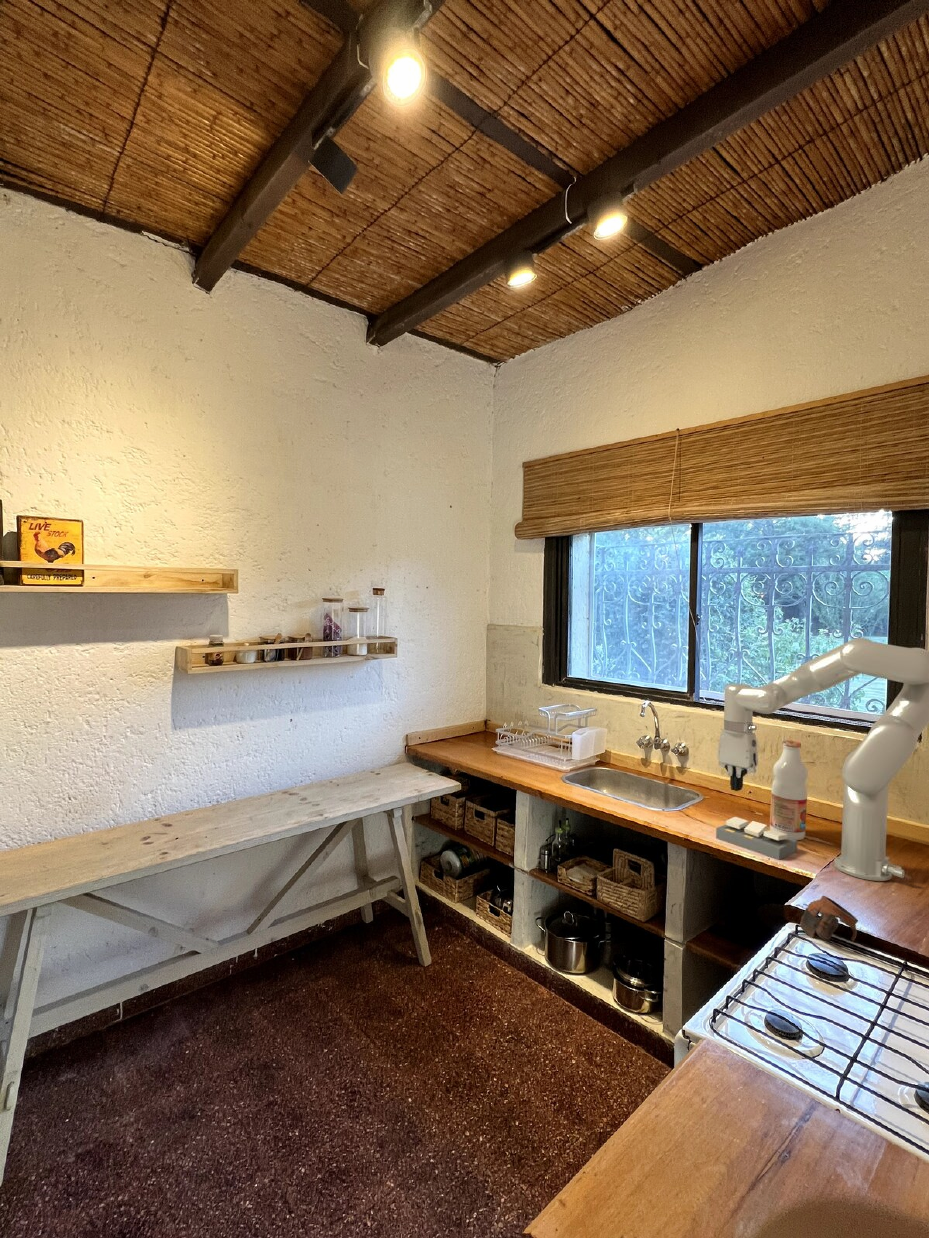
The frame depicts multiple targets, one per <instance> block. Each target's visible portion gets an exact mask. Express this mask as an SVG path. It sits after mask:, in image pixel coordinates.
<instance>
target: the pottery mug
mask: <svg viewBox="0 0 929 1238" xmlns="http://www.w3.org/2000/svg"><path fill="white" fill-rule="evenodd" d="M819 915H820V917H819ZM838 918H839V919H838ZM839 922H841V923H843V924H845V925H846V926H848V927H849V928H850V929H851V932H852V933H853V934H852V937H851V941H852V942H855V939H856V938H857V927H856V926H857V925H856V924H857V923H859V920H858V918H856V916H854V915H853V914H852V913H851V912H849V911H848V910H847V909H846V908H844V907H843V906H842V905H840V904H839V903H837V902H836V901H834V900H833V899H831V898H829V897H827V896H826V895H822V896H821V898H820V899H817V900H813V901H811V902H810V903H809V904H808V906H807V907H806V908H805V909H804V911H803V914H802V916H801V920H800V923H799V926H800V928H801V930H803V932H804V933H805V934H807V935H808V936H809V937H810V938H811V939H814V937H815V934H816V935H817V936H818V937H819V938H820V939H822V940H826V941H830V940H831V938H832V936H833V934H834V932H836V930H837V929H838V928H839Z"/></svg>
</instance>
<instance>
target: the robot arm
mask: <svg viewBox="0 0 929 1238" xmlns="http://www.w3.org/2000/svg"><path fill="white" fill-rule="evenodd" d="M860 674H862V675H865V676H870V677H873V678H874V677H875V678H878V679H883V680H884V679H885V680H889V681H894V682H899V683H903V686H902V688H901V690H900V691H899V693H898V695H897V696H896V697H895V698H894V700H893V702H892V703H891V704H890V705H889V706H888V708H887V709H886V710H885V712H884V713H883V714H882V715H881V716H880V718H878V720H876V721H875V722H874V723H873V724H872V726H871V727H870V730H869V731H868V733H867V734H866V736H864V738H863V739H862V741H861V742H860V743H859V745H858V746H857V747H856V748H855V750H853V751H851V752H850V753H849V754H848V755H847V756H846V758H845V760H844V761H843V765H842V770H841V776H842V779H843V781H844V784H843V799H842V800H843V801H842V802H843V803H842V804H843V805H842V824H841V827H842V828H841V847H840V848H841V849H840V856H837V857H835V858H834V859H833V866H834V867H835V868H836V869H837V870H839V871H841V872H843V873H844V874H847V875H849V876H851V877H855V878H858V879H863V880H868V881H872V882H873V881H874V882H883V881H885V882H886V881H888V880H891V879H892V877H893V876H895V877H897V878H901V879H904V878H905V870H904V869H903V867H901V866H899V865H895V864H893V863H891V862H890V856H886V849H887V828H888V827H887V824H888V822H887V821H888V807H889V787H890V786H889V785H890V782H891V781H892V780H893V779H894V777H896V776H897V774H898V773H899V771H900V770H901V769H902V768H903V767H904V765H905V764H906V763H907V762H908V760H909V759H910V758H911V757H912V755H913V753H914V752H915V750H916V748H917V744H918V738H919V737H920V735H921V734H922V733H923V731H924V730H925V728H927V726H928V725H929V650H927V649H924V648H922V647H906V646H905V647H904V646H898V645H893V644H888V643H883V642H877V641H873V640H871V639H869V638H865V637H857V638H853V639H850V640H849V641H847V642H845V643H843V644H841V645H840V646H837V647H834V648H833V649H831V650H828V651H827V652H825V653H822V654H820V655H819V656H817V657H815V658H813V659H810V660H808V661H807V662H804V663H803V664H802V665H801V666H800V667H798V668H797V669H795V670H793V671H791V672H789V673H788V674H786V675H783V676H781V677H779V678H777V679H775V680H773V681H772V682H769V683H767V684H764V685H762V686H759V687H758V686H757V687H755V686H754V687H753V686H751V685H750V684H743V683H729V684H726V686H725V688H724V704H723V705H724V707H723V708H724V710H723V711H724V712H723V714H724V715H723V729H721V732H720V736H719V741H718V749H717V759H718V765H719V766H720V767H721V768H724V769H725V770H726V771H727V773H728V776H730V779H729V782H730V783H729V786H730V790H731V791H735V792H738V791H742V789H743V787H744V777H745V776H746V775H747V774H755V773H757V769H756V767H758V766H759V749H758V741H757V736H756V733H754V732H753V731H757V728H758V727H757V725H754V722H753V712H754V713H755V712H756V713H759V714H764V715H765V714H766V715H770V714H774V713H775V712H777V711H778V710H780V709H781V708H784V707H785V706H788V705H789V704H790V705H791V704H792V703H794V702H796V701H798V700H800V699H802V698H804V697H807V696H810V695H812V694H815V693H821V692H824V691H826V690H829V689H830V688H833V687H836V686H837V685H840V684H841V683H843V682H846V681H847V680H850V679H852V678H854V677H857V676H858V675H860Z"/></svg>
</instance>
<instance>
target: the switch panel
mask: <svg viewBox="0 0 929 1238" xmlns="http://www.w3.org/2000/svg"><path fill="white" fill-rule="evenodd" d="M748 825H749V824H748ZM748 825H747V826H748ZM747 826H745V827H744V828H746V827H747ZM744 828H741V829H737V828H734V827H731V826H728V825H726V824H723V825H721V826H718V827H716V828H715V838H716V839H718V840H721V841H723V842H727V843H730V844H732V845H734V846H736V847H737V846H738V847H739V848H744V849H746V850H749V851H752V852H754V853H757V854H761V855H762V856H766V857H769V858H771V859H775V860H777V861H780V860H782V859H784V858H786V857H788V856H790V855H793V854H794V853H797V852H798V840H794V839H790V838H787V839H783V840H775V839H772V838H769V837H766V836H764V832H763V834H761V835H760V836H759V837H757V836H754V835H751V834H748V833H745V831H744Z"/></svg>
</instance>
